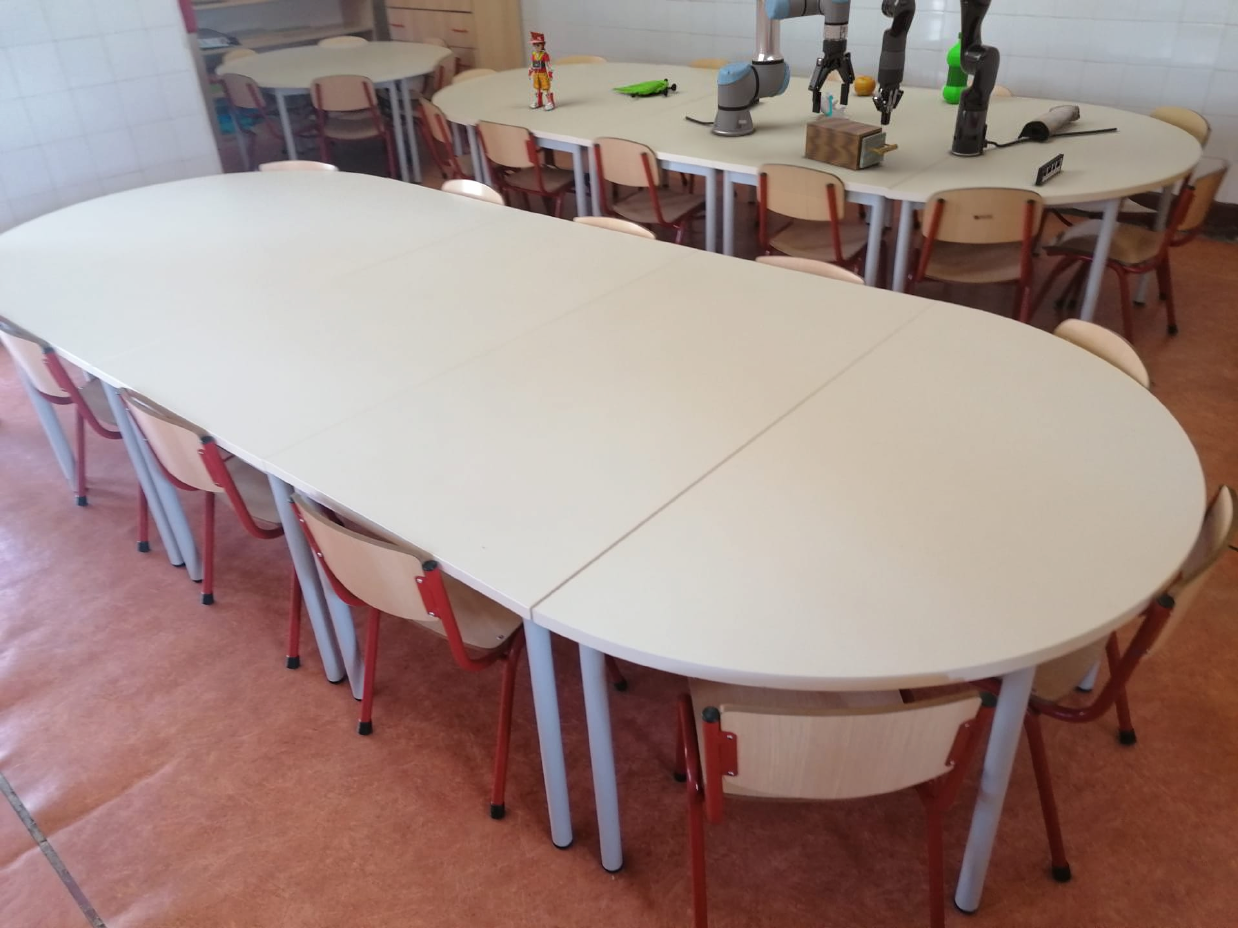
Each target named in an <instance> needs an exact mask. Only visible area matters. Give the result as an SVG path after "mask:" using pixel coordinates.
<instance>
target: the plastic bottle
mask: <svg viewBox="0 0 1238 928" xmlns="http://www.w3.org/2000/svg"><path fill="white" fill-rule="evenodd" d="M957 39H958V42H957V43H956V44H954V45H953V46H952V47H951V48H950V49H949V50H948V52H947V54H946V63H947V64H948V69H947V70H948V71H947V76H946V77H947V78H946V84H945V85H944V87H943V90H942V97H943V99H944V100H945V101H946V102H947V103H948V104H959V100H960V93H961V90H962V89H963V88H965V87H969V85H968V79H969V75H968V74H966V73H964V72H963V71H962V69H961V66H960V45H961V31H959V32H958V36H957Z"/></svg>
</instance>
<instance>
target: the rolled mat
mask: <svg viewBox="0 0 1238 928" xmlns="http://www.w3.org/2000/svg"><path fill="white" fill-rule="evenodd" d="M1080 113H1081V112H1080V107H1079V106H1078V105H1072V104H1065V105H1064V104H1063V105H1059V106H1053V107H1051V108H1050V109H1049V110H1048V112H1046V113H1044V114H1041V115H1039V116H1037V117H1035V118H1033V119H1032V120H1030V121H1029V122H1027V123H1025V124H1024V125H1023V127H1022V129H1021V131H1020V133H1019V134H1018V136H1017V140H1021V139H1023V138H1031V141H1034V142H1039V143H1044V142H1047V141H1048V139H1049V137H1050V136H1052V135H1053V134H1055V133H1056V132H1057V131H1058V130H1060V128H1062V127H1063V126H1065V124H1066V123H1071V122H1077V121H1079V119H1080V118H1081V115H1080ZM1050 138H1051V137H1050Z"/></svg>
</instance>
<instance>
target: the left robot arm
mask: <svg viewBox="0 0 1238 928" xmlns="http://www.w3.org/2000/svg"><path fill="white" fill-rule="evenodd" d="M755 2H756V3H755V5H756V6H755V7H756V8H755V9H756V11H755V16H756V17H755V22H756V23H755V55H754V56H752V58H751V63H750V62H749V61H739V62H738V61H734V62H730V63H727V64H724V65H723V66H721V67H720V68H719V70H718V75H717V111H716V114H715V118H714V120H713V121H702V120H698V119H694V118H693V117H689V116H687V115H686V116H685V117H684V118H685V119H686V120H687V121H691V122H693V123H696V124H699V125H704V126H705V125H706V126H709V125H712V133H713V134H715V135H717V136H721V137H741V136H746V135H750V134H752V133H754V122H753V118H752V115H751V111H750V107H749V100H753V99H759V98H760V99H764V98H774V97H778V96H782V95H783V94H784V93H785V92H786V90H787V89H788V87H789V84H790V81H791V70H790V65H789V63H788V62H787V61H785V56H784V55H783V54H782V53H781V21H783V20H787V19H794V18H801V17H802V18H804V17H810V16H811V17H812V16H824V22H823V35H822V36H823V38H824V39H823V40H822V52H823V54H824V55H823V57H817V58H816V63H815V67H814V70H813V73H812V76H811V79H810V82H809V85H808V88H807V90H808V91H810V92H812V96H811V97H812V99H811V101H812V111H811V112H812V113H813V114H821V109H820V108H821V98H822V91H821V89H822V88H823V86H824V84H825V82H826V80H827V79H828V77H829V74H831V73H832V72H834V71H837V73H838V74H839V77H840V79H841V81H842V82H843V83H841V85H840V97H839V105H841V106H848V104H849V94H850V88H851V85H853V84H854V82H855V81H856V75H855V71H854V68H853V67H854V66H853V63H852V52H850V51H847V50H848V49H847V48H848V39H847V38H848V35H849V34H848V33H849V21H850V14H851V13H850V12H851V11H850V10H851V2H852V0H755ZM760 99H759V100H760Z"/></svg>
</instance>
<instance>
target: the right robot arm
mask: <svg viewBox="0 0 1238 928" xmlns="http://www.w3.org/2000/svg"><path fill="white" fill-rule="evenodd" d="M992 1H993V0H959V6H960V7H959V8H960V32H961V45H960V66H961V69H962V71H963V72H964V73H966V74H968V76H972V77H973V79H972V82H971V85H968V87H965V88H963V89H962V90H961V93H960V100H959V103H958V106H957V113H956V120H955V126H954V132H953V134H952V145H951V149H950V153H951V154H953V155H955V156H958V157H959V156H960V157H975V156H979V155H983V154H984V149H987V148H988V145H993V146H995V148H1006V147H1010V146H1013V145H1017V144H1021V143H1026V142H1031V141H1032V140H1031V138H1029V137H1025V138H1021V139H1017V140H1014V141H1010V142H1007V143H1002V144H1001V143H998V142H997V141H992V140H989V139H987V138H986V136H987V131H988V124H987V117H988V113H989V105H990V100H991V95H992V93H993V91H994V89H995V86H996V82H997V76H998V73H999V68H1000V63H1001V52H1000V50H999V48H997V46H992V45H987V44H983V39H982V25H983V22H984V19H985V17H986V15H987V13H988V11H989V9H990V6H991V5H992ZM916 8H917V3H916V0H882V1H881V7H880V9H881V13H882V14H883V16H885V17H886V18H889V19H893V20H892V23H891V25H890V27H888V28H886V29H885V30H884V31H883V34H882V41H881V50H880V55H879V60H878V62H879V63H878V70H877V79H876V81H877V83H878V84H879V87H878V90H877V94H876V95H873V96H872V97H871V99H872V102H873V104H874V106H875V109H876V111H877V112H880V113H881V114H880V125H881V126H889V125H890V121H891V115H892V112H893V110H896V109H897V107H898V106H899V104H900V102H901V100H902V97H903V96H904V93H905V91H904V90H902V89H901V88H900V87H901V85H900V84H901V83H903V81H904V75H905V74H904V72H905V65H906V48H907V43H908V42H907V41H908V34H909V32H910V29H911V26H912V23H913V20H914V17H915V14H916V10H917V9H916ZM1116 131H1118V128H1117V127H1112V128H1111V127H1110V128H1103V129H1095V130H1084V131H1083V130H1081V131H1073V132H1071V131H1070V132H1061V133H1053V135H1052V136H1050V137H1049V138H1050V139H1051V138H1057V137H1067V136H1079V135H1093V134H1098V133H1109V132H1116ZM1049 138H1048V139H1049Z"/></svg>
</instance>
